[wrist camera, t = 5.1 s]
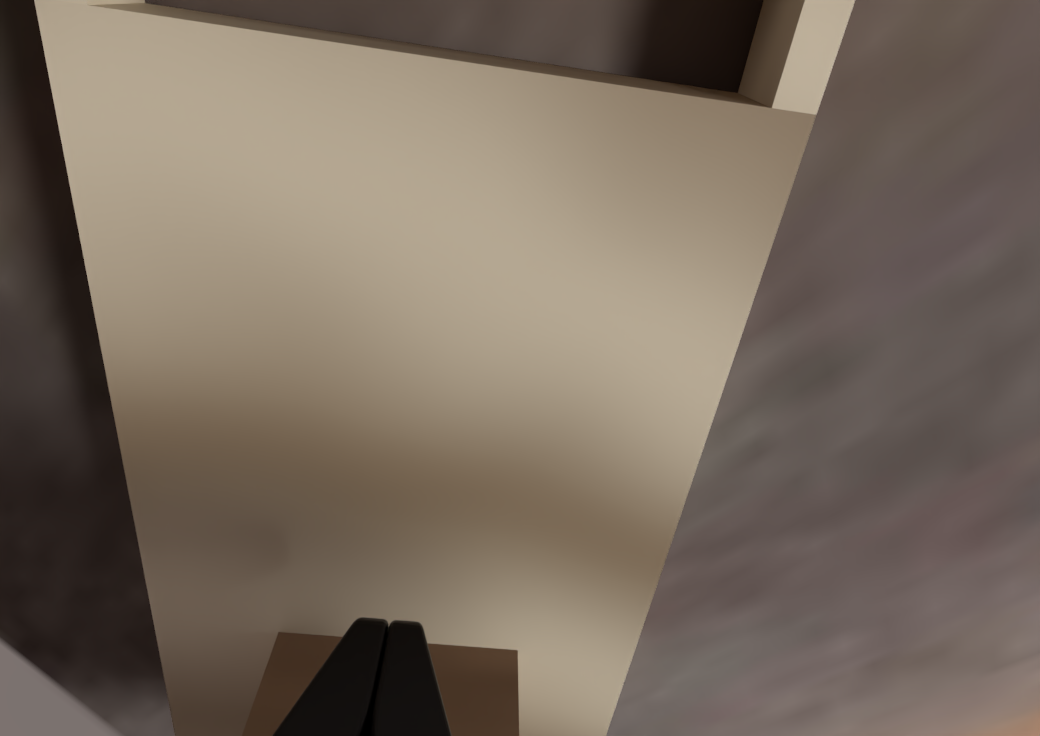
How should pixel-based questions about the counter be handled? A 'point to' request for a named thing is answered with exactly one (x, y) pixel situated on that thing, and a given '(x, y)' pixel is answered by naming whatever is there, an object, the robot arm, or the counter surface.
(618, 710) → the counter surface
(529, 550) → the wooden stand
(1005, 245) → the counter surface
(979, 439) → the counter surface
